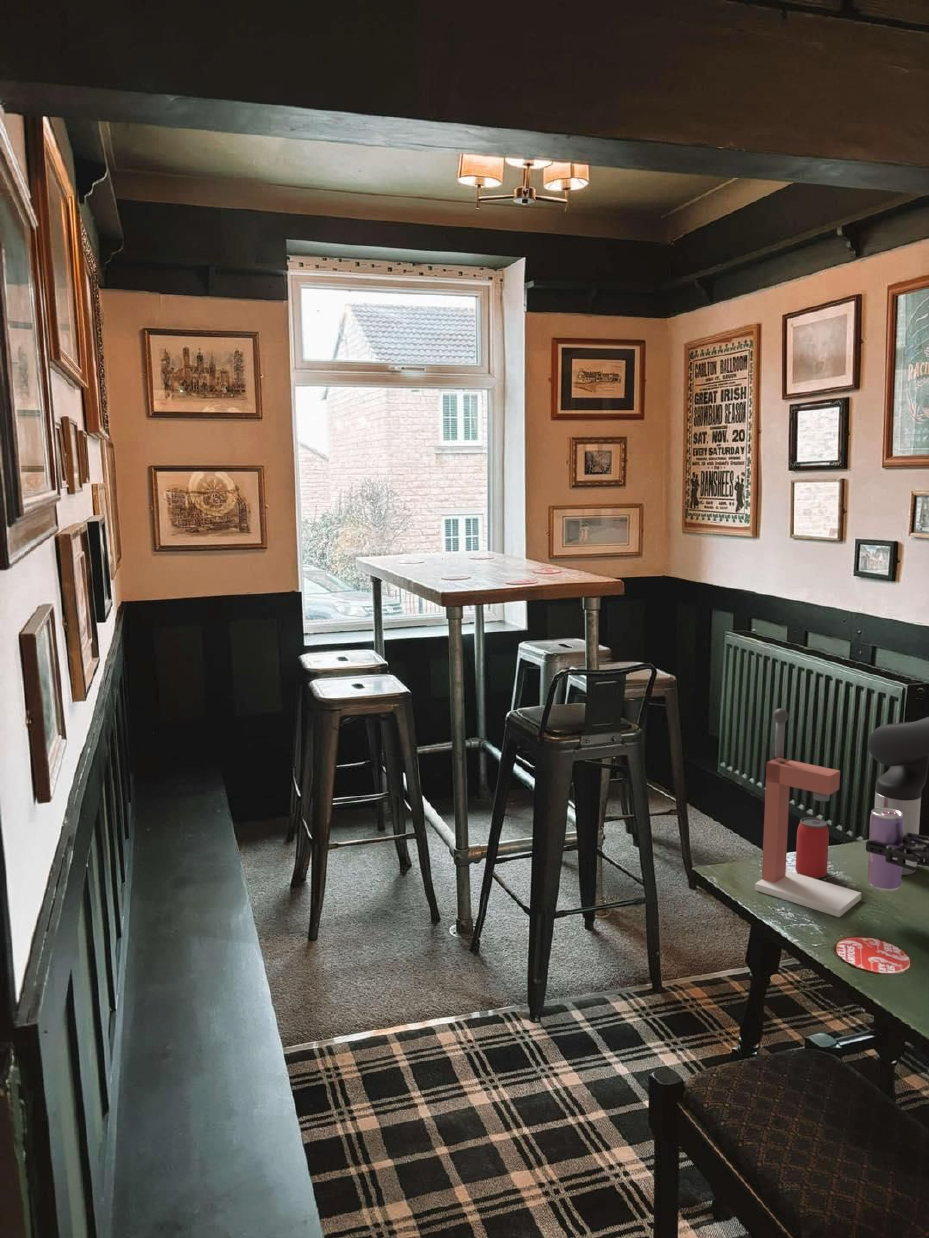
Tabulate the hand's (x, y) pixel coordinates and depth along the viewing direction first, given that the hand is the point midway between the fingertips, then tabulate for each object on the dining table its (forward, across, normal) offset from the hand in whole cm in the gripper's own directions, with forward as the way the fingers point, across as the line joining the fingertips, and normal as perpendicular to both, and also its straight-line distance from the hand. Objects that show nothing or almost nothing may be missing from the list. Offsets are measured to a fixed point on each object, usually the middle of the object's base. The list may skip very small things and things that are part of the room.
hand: (873, 841), depth 180 cm
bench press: (+13, 0, +15) cm, 20 cm away
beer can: (+17, -11, +15) cm, 25 cm away
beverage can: (-2, 0, +9) cm, 9 cm away
